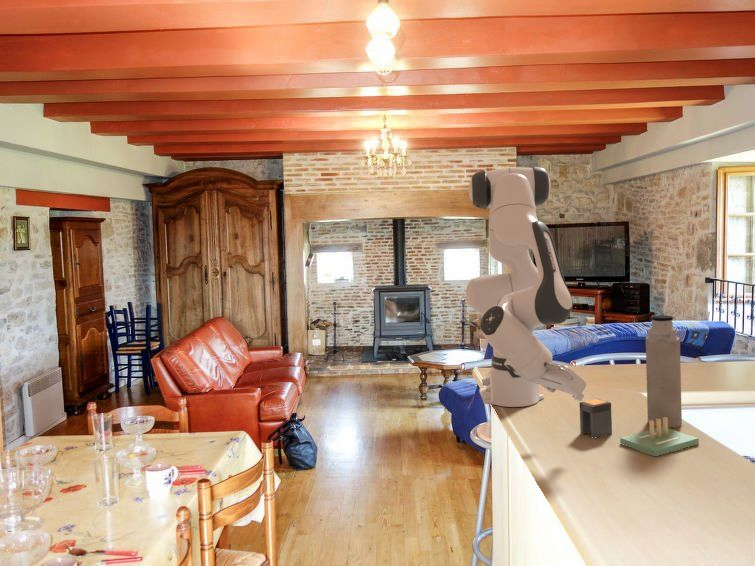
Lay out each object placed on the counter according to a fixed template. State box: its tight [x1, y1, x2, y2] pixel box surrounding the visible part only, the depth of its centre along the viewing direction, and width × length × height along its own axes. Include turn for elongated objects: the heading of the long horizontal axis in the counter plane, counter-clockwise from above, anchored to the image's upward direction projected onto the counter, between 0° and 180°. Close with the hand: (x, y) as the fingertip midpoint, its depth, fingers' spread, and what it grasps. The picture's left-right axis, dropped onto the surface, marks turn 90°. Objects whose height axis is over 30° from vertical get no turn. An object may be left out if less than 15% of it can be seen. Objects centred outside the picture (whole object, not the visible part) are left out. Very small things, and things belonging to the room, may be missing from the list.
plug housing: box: [578, 398, 613, 439], centre depth 151 cm, size 6×4×8 cm
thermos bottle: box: [645, 314, 683, 429], centre depth 155 cm, size 8×8×28 cm
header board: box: [619, 417, 700, 457], centre depth 142 cm, size 14×10×6 cm
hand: (566, 393), depth 147 cm, fingers open, 8 cm apart
